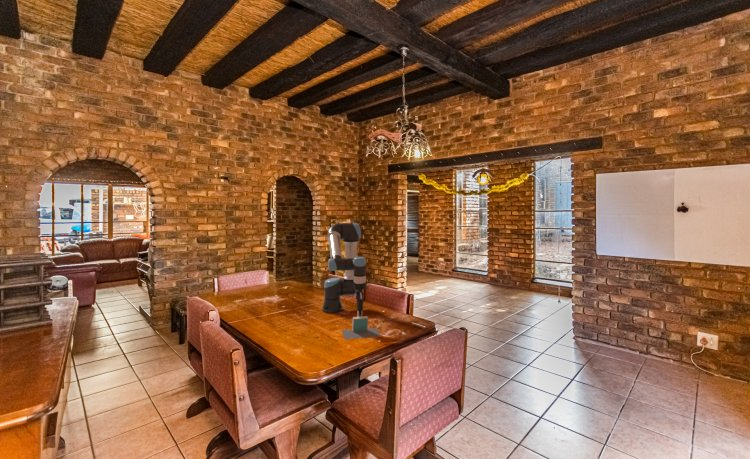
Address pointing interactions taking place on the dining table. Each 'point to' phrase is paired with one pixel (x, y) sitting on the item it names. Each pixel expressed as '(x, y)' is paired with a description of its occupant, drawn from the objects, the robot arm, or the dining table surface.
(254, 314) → the dining table surface
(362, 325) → the tile
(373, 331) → the mat
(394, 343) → the dining table surface
